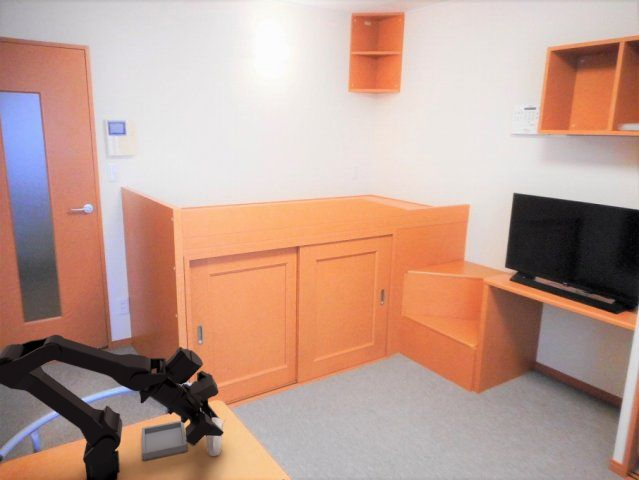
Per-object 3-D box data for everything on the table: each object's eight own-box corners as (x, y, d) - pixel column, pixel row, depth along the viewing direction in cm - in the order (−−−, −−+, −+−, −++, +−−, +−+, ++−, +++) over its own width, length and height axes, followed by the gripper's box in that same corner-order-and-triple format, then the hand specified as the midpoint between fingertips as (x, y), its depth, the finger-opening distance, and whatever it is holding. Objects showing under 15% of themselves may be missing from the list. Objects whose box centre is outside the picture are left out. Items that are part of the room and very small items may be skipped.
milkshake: (222, 460, 114) (221, 425, 111) (201, 456, 115) (200, 421, 112) (229, 448, 118) (229, 413, 115) (209, 444, 119) (208, 410, 116)
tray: (142, 461, 113) (142, 453, 112) (142, 434, 122) (141, 428, 122) (187, 451, 117) (186, 444, 116) (183, 426, 126) (182, 420, 126)
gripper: (200, 391, 101) (251, 426, 107) (193, 351, 118) (237, 384, 124) (163, 429, 100) (217, 463, 107) (162, 384, 117) (208, 415, 124)
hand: (221, 428), depth 115 cm, fingers closed on milkshake, 4 cm apart
